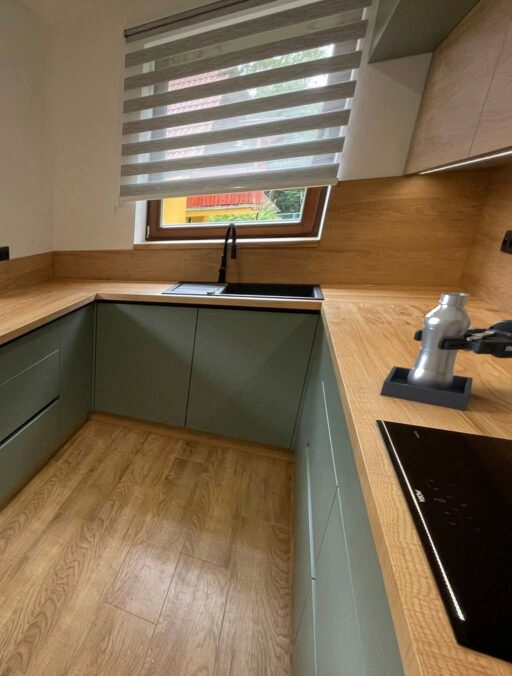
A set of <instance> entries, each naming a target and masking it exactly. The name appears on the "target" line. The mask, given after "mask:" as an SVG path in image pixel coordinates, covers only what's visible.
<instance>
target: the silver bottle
mask: <svg viewBox="0 0 512 676" xmlns="http://www.w3.org/2000/svg"><path fill="white" fill-rule="evenodd" d="M469 299H470V294H468V293H461V292H443V293H442V294H441V296H440V299H439V300H438V304H439V305H438V306H437V307H436V308H435V309H433V310H431V311H430V312H428V314H426V316H425V317H424V319H423V322H422V330H423V331H422V340H421V341H420V346H419V349H418V353H417V354H416V355H417V356H416V357H415V361H414V362H413V366H411V368H410V369H411V370H410V372H409V374H408V384H409V385H413V386H419V387H425V388H431V389H436V390H442V391H446V390H448V389H449V388H450V386H451V384H452V383H453V375H454V369H455V364H456V358H457V354H458V352H459V350H441V349H438V348H437V346H438V343H439V340H440V339H441V338H464V336H465V334H466V332H467V330H468V328H471V327H470V326H471V324H472V320H471V319H472V318H471V317H470V315H469V312H468V311H467V309H465V306H467V305H468V303H469Z"/></svg>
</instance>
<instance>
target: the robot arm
mask: <svg viewBox="0 0 512 676" xmlns="http://www.w3.org/2000/svg"><path fill="white" fill-rule="evenodd" d="M422 331H423V329H418V330H416V331H415V333H414V336H413V340H414V341H416V342H421V340H422ZM437 348H438V349H441V350H458V351H462V352H463V351H464V352H467V353H468V352H473V353H474V354H476V355H490V356H491V357H494V358H497V359H512V319H501V320H499V321H496V322H494V323H493V324H492V325H490V326H489V327H488V328H487V327H480V326H473V327H469V328H468V330H467V332H466V334H465V336H464V338H441V339H440V340H439V343H438V346H437Z"/></svg>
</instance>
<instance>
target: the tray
mask: <svg viewBox="0 0 512 676" xmlns="http://www.w3.org/2000/svg"><path fill="white" fill-rule="evenodd" d="M410 370H411V368H410V367H402V366H395V365H393V366H392V368H391V369H390V371H389V372H388V375H386V377H385V379H384V380H383V384H382V386H381V390H380V394H379V395H380V396H384V397H390V398H395V399H400V400H406V401H412V402H417V403H421V404H427V405H432V406H438V407H443V408H448V409H454V410H459V411H463V412H464V411H466V409H467V407H468V404H469V401H470V399H471V396H472V387H473V379H474V378H473V377H470V376H463V375H456V374H453V383H452V384H451V386H450V388H449V389H448V390H446V391H442V390H436V389H431V388H425V387H419V386H413V385H409V384H408V374H409V372H410Z"/></svg>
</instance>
